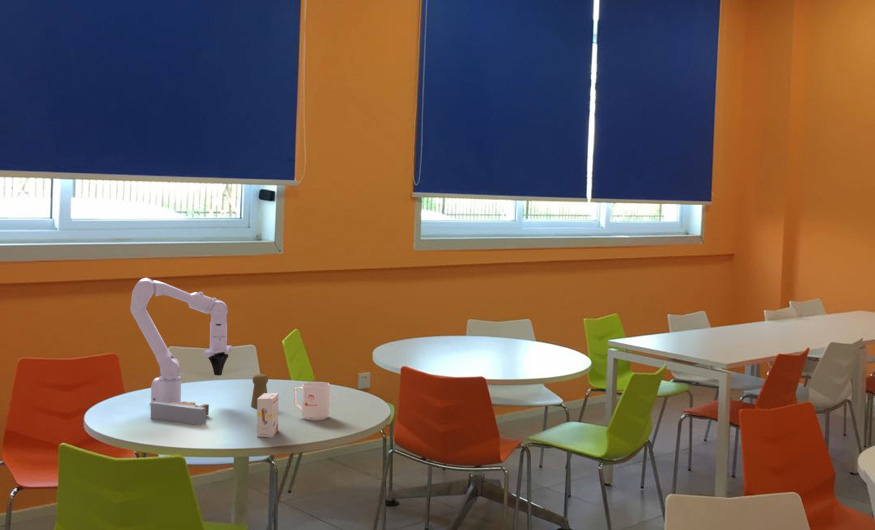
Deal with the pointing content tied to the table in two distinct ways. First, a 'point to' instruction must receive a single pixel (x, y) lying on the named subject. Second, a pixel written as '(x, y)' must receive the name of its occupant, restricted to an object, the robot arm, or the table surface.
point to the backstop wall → (178, 413)
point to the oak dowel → (190, 403)
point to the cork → (258, 388)
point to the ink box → (267, 415)
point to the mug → (314, 400)
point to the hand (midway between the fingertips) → (217, 375)
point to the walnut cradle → (196, 406)
